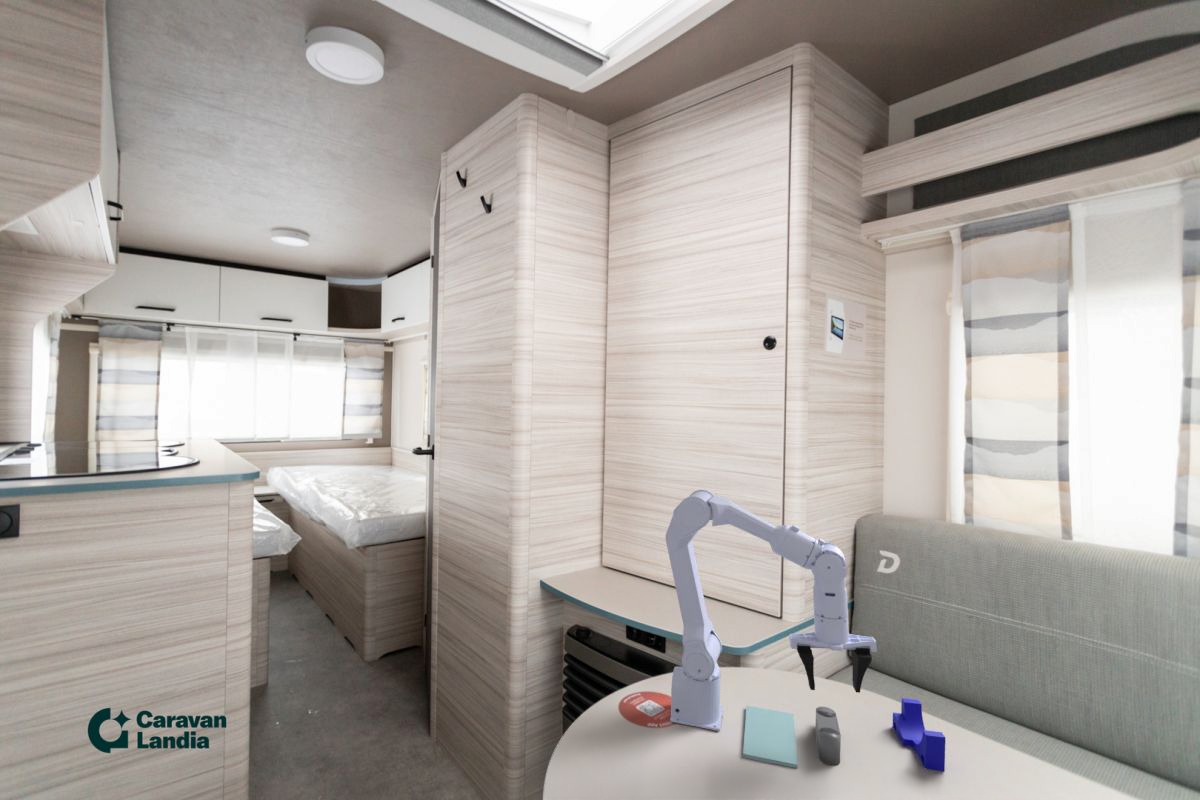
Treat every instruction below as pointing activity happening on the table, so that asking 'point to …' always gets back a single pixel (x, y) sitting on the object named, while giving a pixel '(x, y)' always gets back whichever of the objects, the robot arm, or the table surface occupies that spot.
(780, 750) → the rubber mat
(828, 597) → the robot arm
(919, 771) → the table surface
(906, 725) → the cable clip
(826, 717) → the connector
